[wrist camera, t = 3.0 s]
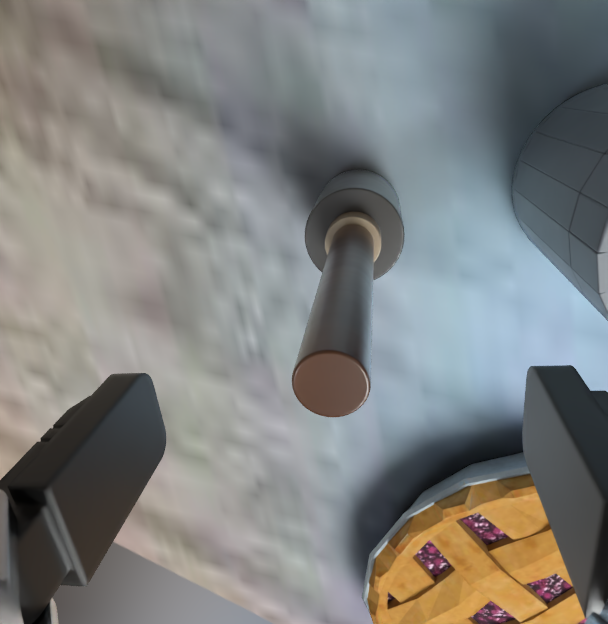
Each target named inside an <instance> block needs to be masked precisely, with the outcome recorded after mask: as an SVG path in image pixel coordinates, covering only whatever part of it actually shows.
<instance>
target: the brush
mask: <svg viewBox="0 0 608 624" xmlns="http://www.w3.org/2000/svg"><path fill="white" fill-rule="evenodd" d="M305 243H306V248H307V251H308V254H309V256H310V258H311V260H312V261H313V263H314V264H315V265H316V267H317V268H318V269H319V270H320V271H321V272H322V276H321V279H320V283H319V286H318V289H317V293H316V296H315V300H314V303H313V306H312V310H311V313H310V317H309V320H308V323H307V327H306V330H305V334H304V337H303V340H302V344H301V347H300V351H299V354H298V357H297V361H296V364H295V368H294V371H293V375H292V387H293V390H294V393H295V395H296V397H297V399H298V400H299V401H300V403H301V404H302V405H303V406H304V407H306V408H307V409H308V410H310V411H312V412H314V413H316V414H318V415H322V416H326V417H340V416H345V415H348V414H350V413H353V412H354V411H356V410H357V409H359V408H360V407H361V406H362V405H363V404H364V402H365V401H366V399H367V397H368V395H369V392H370V384H371V346H372V308H373V280H375V279H377V278H379V277H381V276H382V275H384V274H385V273H387V272H388V271H389V270H390V269H391V268H392V267H393V265H394V264H395V263H396V261H397V260H398V258H399V256H400V254H401V252H402V248H403V244H404V226H403V220H402V215H401V209H400V203H399V199H398V196H397V194H396V192H395V190H394V188H393V187H392V186H391V184H390V183H389V182H388V181H387V180H386V179H384V178H383V177H382V176H380V175H378V174H376V173H374V172H371V171H367V170H351V171H347V172H344V173H342V174H339V175H338V176H336V177H334V178H333V179H332V180H331V181H330V182H329V183H328V184H327V185H326V186H325V188H324V189H323V191H322V192H321V194H320V196H319V198H318V200H317V202H316V204H315V206H314V208H313V210H312V212H311V214H310V215H309V218H308V220H307V224H306V228H305Z"/></svg>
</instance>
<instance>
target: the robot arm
mask: <svg viewBox="0 0 608 624" xmlns="http://www.w3.org/2000/svg"><path fill="white" fill-rule="evenodd" d="M522 442H523V451H524V456H525V460H526V463H527V466H528V469H529V472H530V474H531V477H532V479H533V482H534V485H535V487H536V490H537V493H538V495H539V498H540V501H541V503H542V506H543V508H544V511H545V514H546V516H547V519H548V522H549V524H550V527H551V530H552V532H553V535H554V537H555V540H556V543H557V545H558V548H559V551H560V553H561V556H562V559H563V561H564V564H565V566H566V569H567V572H568V574H569V577H570V580H571V582H572V585H573V587H574V590H575V593H576V595H577V598H578V601H579V603H580V606H581V609H582V611H583V614H584V616H585V619H587V620H586V622H585V623H584V624H608V392H606V391H590V390H589V388H588V387H587V385H586V384H585V382H584V381H583V379H582V378H581V376H580V375H579V374H578V372H577V371H576V369H575V368H574V367H573V366H571V365H567V366H531V367H530V368H529V369H528V372H527V379H526V391H525V403H524V416H523V428H522ZM165 446H166V431H165V426H164V423H163V419H162V415H161V411H160V407H159V404H158V400H157V396H156V392H155V389H154V385H153V382H152V379H151V377H150V376H149V375H148V374H146V373H127V374H112V375H110V376H109V377H108V378H107V379H106V380H105V381H104V383H103V384H102V385H101V386H100V387H99V388H98V389H97V390H96V391H95V392H94V393H93V394H92V395H91V396H89V397H87V398H86V399H84V400H83V401H81V402H80V403H78V404H76V405H75V406H73V407H72V408H70V409H69V410H67V412H66V413H65V414H64V415H63V416H62V417H61V418H60V419H59V420H58V421H57V422H56V423H55V424H54V425H53V428H50V429H49V430H48V431H47V432H46V433H45V434H44V435H43V436H42V437H41V441H40V442H37V443H36V444H35V445H34V446H33V447H32V448H31V449H30V450H29V451H28V452H27V453H26V454H25V455H24V456H23V457H22V458H21V459H20V460H19V461H18V462H17V463H16V465H15V466H14V467H13V468H12V469H11V470H10V471H9V472H8V473H7V474H6V475H5V476H4V477H3V478H2V479H1V480H0V624H58V615H57V608H56V604H55V602H54V600H53V598H52V597H53V595H54V593H55V592H56V591H57V589H58V588H59V586H60V585H70V586H87V585H88V583H89V582H90V580H91V578H92V576H93V575H94V573H95V571H96V570H97V568H98V566H99V565H100V563H101V561H102V559H103V558H104V556H105V554H106V553H107V551H108V549H109V547H110V546H111V544H112V542H113V541H114V539H115V537H116V536H117V534H118V532H119V530H120V529H121V527H122V525H123V524H124V522H125V520H126V519H127V517H128V515H129V513H130V512H131V510H132V508H133V507H134V505H135V503H136V502H137V500H138V498H139V496H140V495H141V493H142V491H143V490H144V488H145V486H146V485H147V483H148V481H149V479H150V478H151V476H152V474H153V473H154V471H155V469H156V468H157V466H158V464H159V462H160V461H161V459H162V457H163V454H164V451H165Z"/></svg>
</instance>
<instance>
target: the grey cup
mask: <svg viewBox="0 0 608 624" xmlns="http://www.w3.org/2000/svg"><path fill="white" fill-rule="evenodd" d="M512 200H513V206H514V211H515V214H516V217H517V220H518V222H519V224H520V226H521V228H522V229H523V231H524V232H525V234H526V235H527V237H528V238H529V240H530V241H531V242H532V243H533V244H534V245H535V246H536V247H537V248H538V249H539V250H540V251H541V252H542V253H543V254H544V255H545V256H546V257H547V258H548V259H549V260H550V261H551V262H552V264H553V265H554V266H555V267H556V268H557V269H558V270H559V271H560V272H561V273H562V274H563V275H564V276H565V277H566V278H567V279H568V280H569V281H570V282H571V283H572V284H573V285H574V286H575V287H576V288H577V289H578V291H579V292H580V293H581V294H582V295H583V296H584V297H585V298H586V299H587V300H588V301H589V302H590V303H591V304H592V305H593V306H594V307H595V308H596V309H597V310H598V311H599V312H600V313H601V314H602V315H603V316H604V317H605V318H606V320H607V321H608V84H604V85H600V86H597V87H594V88H591V89H588V90H586V91H584V92H581V93H579V94H577V95H575V96H574V97H572V98H570V99H568V100H567V101H565V102H564V103H562V104H561V105H560V106H558V107H557V108H556V109H554V110H553V111H552V112H551V113H550V114H549V115H548V116H547V117H545V118H544V119H543V121H542V122H541V123H540V124H539V125H538V126H537V127H536V128H535V130H534V131H533V133H532V134H531V135H530V137H529V138H528V140H527V142H526V143H525V145H524V147H523V149H522V151H521V153H520V156H519V158H518V161H517V163H516V167H515V171H514V175H513V182H512Z"/></svg>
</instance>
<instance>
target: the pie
mask: <svg viewBox="0 0 608 624" xmlns="http://www.w3.org/2000/svg"><path fill="white" fill-rule="evenodd" d="M362 599H363V601H364V603H365V605H366V607H367V609H368V611H369V613H370V615H371V618H372V621H373V624H584V623H585V622H586V620H587V619H585V616H584V614H583V611H582V609H581V606H580V603H579V601H578V598H577V595H576V593H575V590H574V587H573V585H572V582H571V580H570V577H569V574H568V572H567V569H566V566H565V564H564V561H563V559H562V556H561V553H560V551H559V548H558V545H557V543H556V540H555V537H554V535H553V532H552V530H551V527H550V524H549V522H548V519H547V516H546V514H545V511H544V508H543V506H542V503H541V501H540V498H539V495H538V493H537V490H536V487H535V485H534V482H533V479H532V477H531V474H530V472H529V469H528V466H527V463H526V460H525V456H524V452H522V453H518V454H514V455H509V456H505V457H501V458H496V459H492V460H488V461H483V462H479V463H475V464H471V465H469V466H467V467H466V468H464V469H462V470H460V471H459V472H457V473H455V474H453V475H452V476H450V477H448V478H446V479H445V480H443V481H441V482H439V483H438V484H436V485H434V486H432V487H430V488H429V489H427V490H425V491H423V492H422V493H421V495H420V496H419V497H418V498H417V499H416V501H415V502H414V503H413V504H412V506H411V507H410V508H409V509H408V510H407V511H406V512H404V514H403V515H402V516H401V517H400V518H399V520H398V521H397V522H396V523H395V524H394V526H393V527H392V528H391V529H390V530H389V532H388V533H387V534H386V535H385V536H384V537H383V539H382V540H381V541H380V542H379V543H378V545H377V546H376V547H375V548H374V549H373V551H372V552H371V553H370V554H369V560H368V566H367V571H366V577H365V582H364V588H363V594H362Z"/></svg>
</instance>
